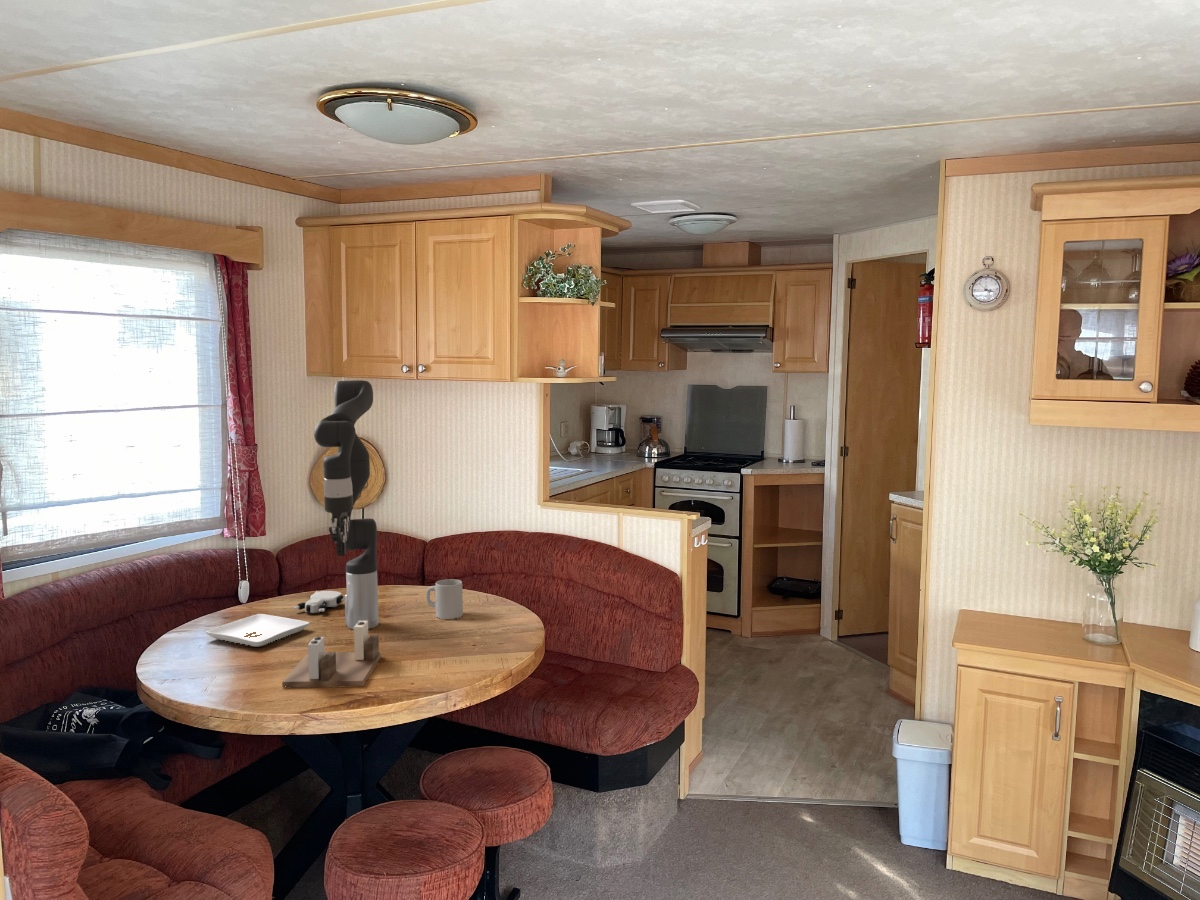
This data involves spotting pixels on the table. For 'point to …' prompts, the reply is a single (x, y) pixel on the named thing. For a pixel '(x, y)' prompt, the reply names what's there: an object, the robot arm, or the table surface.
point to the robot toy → (321, 601)
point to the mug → (447, 598)
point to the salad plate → (257, 629)
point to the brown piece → (337, 668)
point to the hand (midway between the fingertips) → (341, 555)
